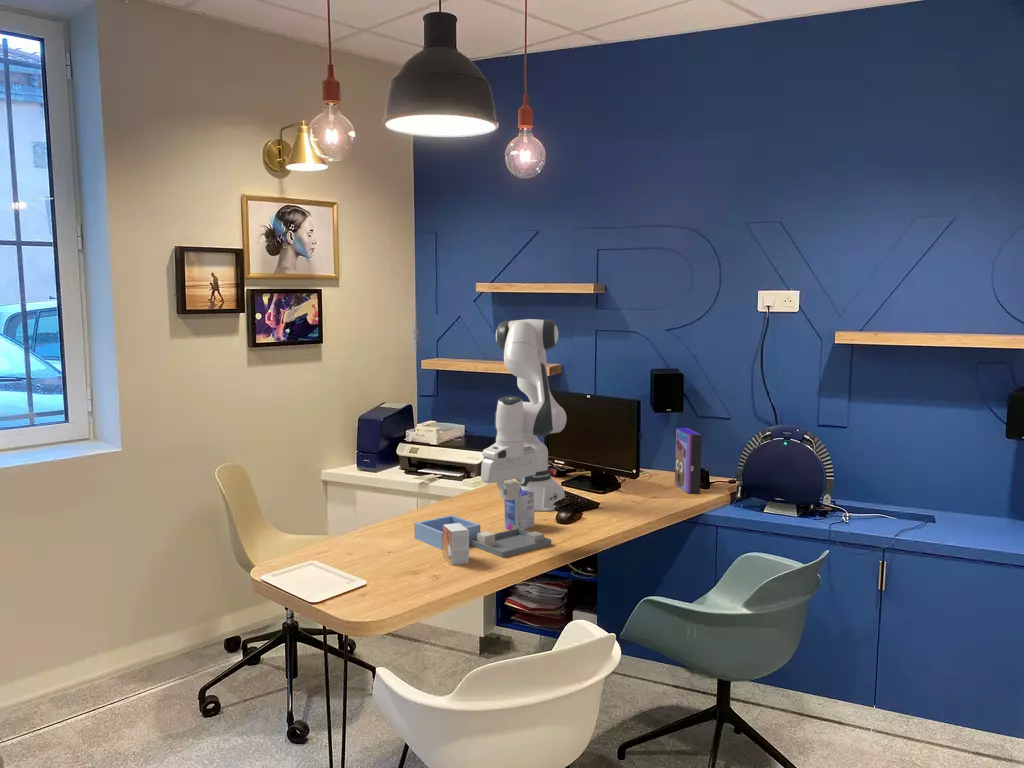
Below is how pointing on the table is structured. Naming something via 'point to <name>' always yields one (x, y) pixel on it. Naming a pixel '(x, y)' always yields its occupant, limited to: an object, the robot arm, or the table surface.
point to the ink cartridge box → (520, 511)
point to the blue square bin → (433, 529)
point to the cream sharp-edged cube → (486, 538)
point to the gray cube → (534, 537)
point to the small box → (455, 544)
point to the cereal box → (688, 460)
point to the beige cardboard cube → (511, 490)
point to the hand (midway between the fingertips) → (509, 493)
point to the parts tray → (510, 543)
